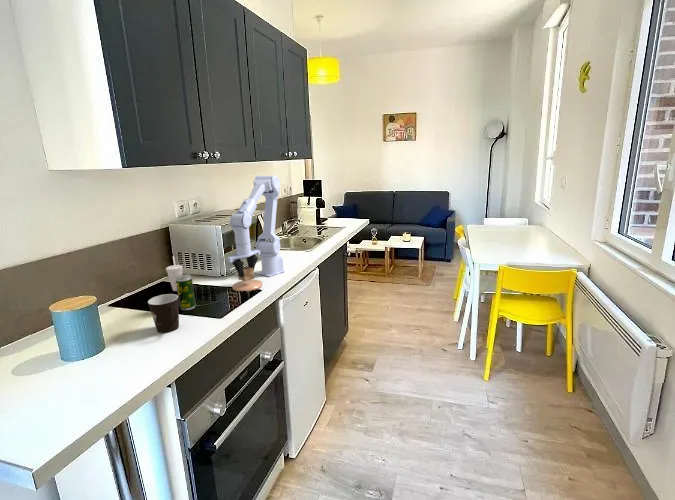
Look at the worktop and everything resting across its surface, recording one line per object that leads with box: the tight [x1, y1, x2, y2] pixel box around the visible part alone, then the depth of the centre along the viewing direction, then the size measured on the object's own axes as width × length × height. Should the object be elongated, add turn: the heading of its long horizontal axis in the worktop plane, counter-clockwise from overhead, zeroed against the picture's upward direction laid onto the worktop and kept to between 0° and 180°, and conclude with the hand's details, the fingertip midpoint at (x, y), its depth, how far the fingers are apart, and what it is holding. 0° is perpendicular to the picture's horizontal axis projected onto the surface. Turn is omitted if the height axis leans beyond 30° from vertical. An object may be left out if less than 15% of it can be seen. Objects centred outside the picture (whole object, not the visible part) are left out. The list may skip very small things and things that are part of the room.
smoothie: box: [165, 256, 184, 292], centre depth 149 cm, size 6×6×14 cm
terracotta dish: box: [231, 279, 263, 293], centre depth 150 cm, size 12×12×1 cm
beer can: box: [176, 273, 197, 311], centre depth 130 cm, size 5×5×12 cm
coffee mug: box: [147, 293, 180, 334], centre depth 113 cm, size 12×9×10 cm
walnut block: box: [237, 265, 255, 281], centre depth 149 cm, size 4×4×4 cm
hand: (246, 275), depth 149 cm, fingers closed on walnut block, 4 cm apart
